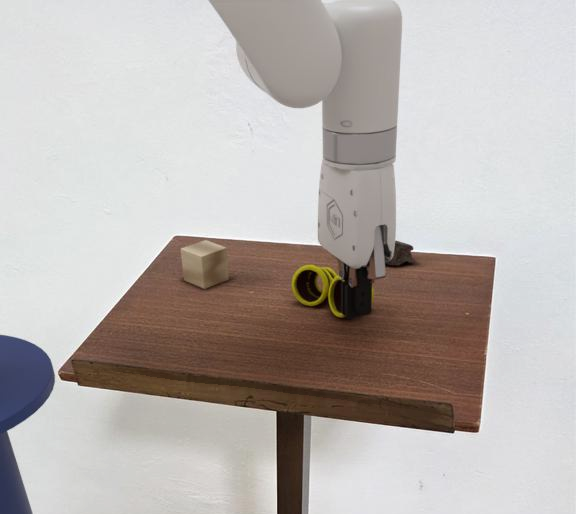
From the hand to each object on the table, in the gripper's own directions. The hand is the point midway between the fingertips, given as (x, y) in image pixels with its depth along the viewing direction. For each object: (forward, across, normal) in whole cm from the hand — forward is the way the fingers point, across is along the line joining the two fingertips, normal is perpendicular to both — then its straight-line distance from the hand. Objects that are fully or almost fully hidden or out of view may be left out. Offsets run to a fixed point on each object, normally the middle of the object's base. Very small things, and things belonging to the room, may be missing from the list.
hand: (355, 313), depth 88 cm
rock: (+2, -19, +13) cm, 23 cm away
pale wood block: (+2, -22, -11) cm, 25 cm away
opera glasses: (+2, -7, +1) cm, 7 cm away
